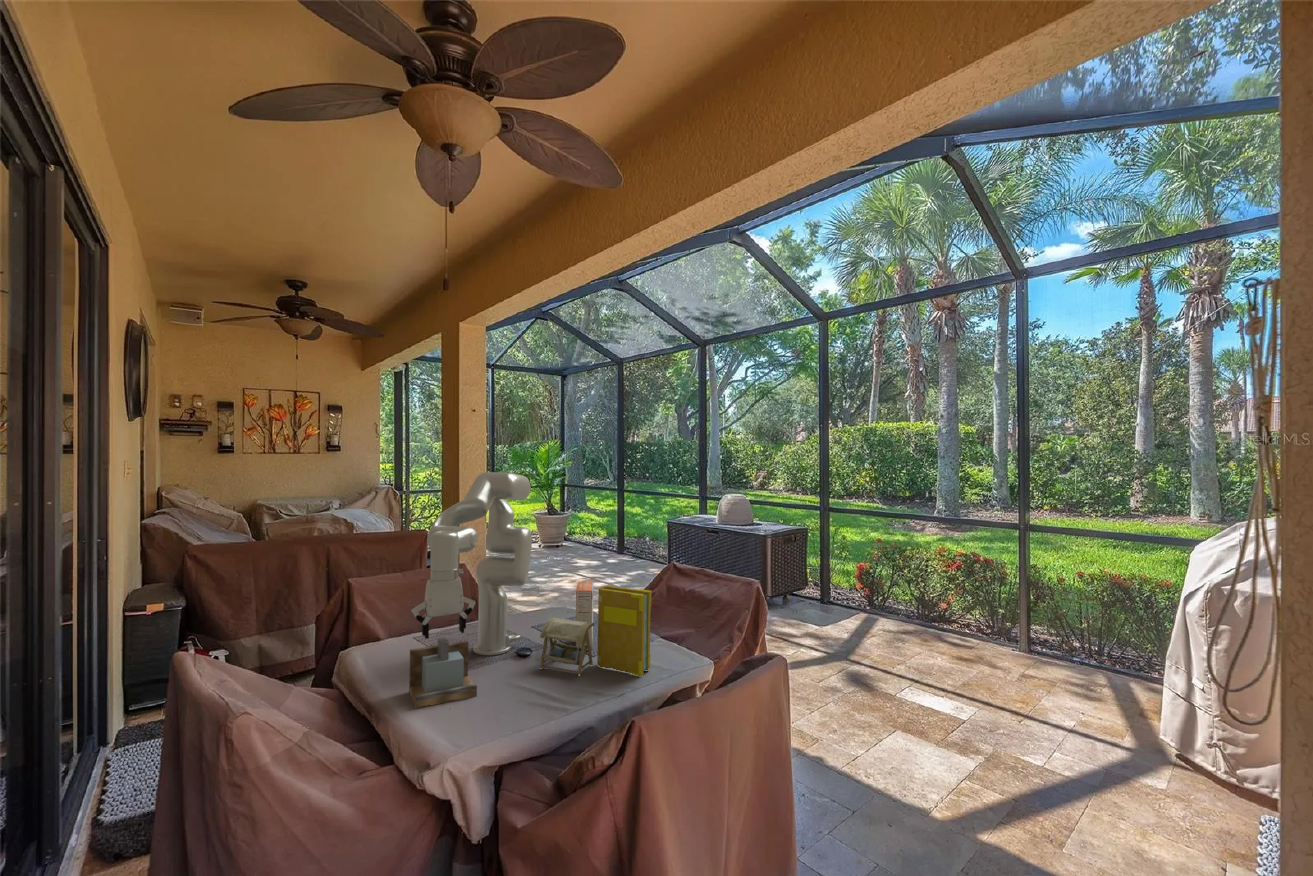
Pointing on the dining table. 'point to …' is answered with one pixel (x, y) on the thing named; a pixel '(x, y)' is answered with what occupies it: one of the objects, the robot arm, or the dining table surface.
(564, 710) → the dining table surface
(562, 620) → the swing bench
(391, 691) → the dining table surface
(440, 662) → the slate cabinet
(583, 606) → the cracker box
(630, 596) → the book
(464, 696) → the cleat board
